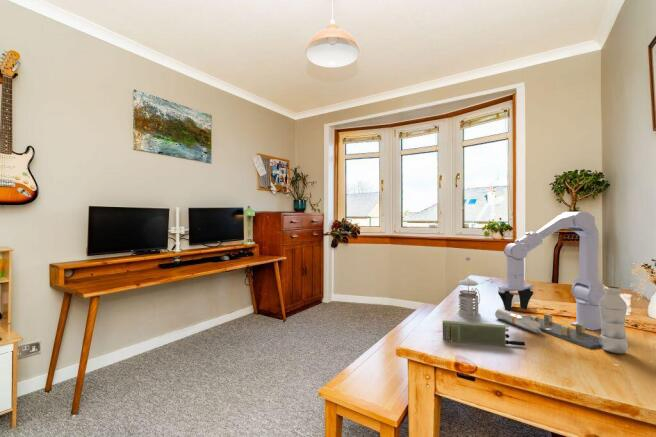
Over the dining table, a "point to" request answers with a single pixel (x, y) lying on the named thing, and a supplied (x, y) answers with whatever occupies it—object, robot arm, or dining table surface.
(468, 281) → the french press
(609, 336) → the plastic bottle
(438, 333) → the dining table surface
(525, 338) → the dining table surface
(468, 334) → the handheld radio
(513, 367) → the dining table surface
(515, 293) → the lidded jar
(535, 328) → the tube
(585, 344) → the plate
